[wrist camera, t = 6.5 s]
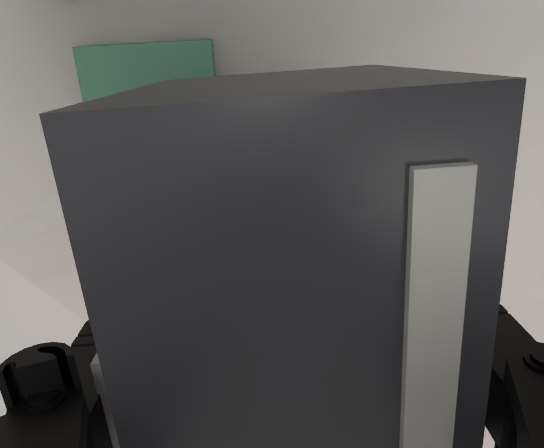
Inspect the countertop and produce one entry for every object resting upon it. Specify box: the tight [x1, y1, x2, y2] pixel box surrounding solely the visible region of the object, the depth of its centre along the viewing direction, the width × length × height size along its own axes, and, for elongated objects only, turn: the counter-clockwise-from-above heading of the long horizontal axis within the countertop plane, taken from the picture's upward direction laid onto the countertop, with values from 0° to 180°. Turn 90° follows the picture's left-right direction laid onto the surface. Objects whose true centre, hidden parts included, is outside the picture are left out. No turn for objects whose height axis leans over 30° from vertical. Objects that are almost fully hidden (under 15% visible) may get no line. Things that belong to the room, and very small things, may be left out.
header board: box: [73, 39, 215, 102], centre depth 27 cm, size 14×8×6 cm, turn 3°
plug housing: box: [39, 65, 526, 448], centre depth 11 cm, size 12×6×8 cm, turn 4°
